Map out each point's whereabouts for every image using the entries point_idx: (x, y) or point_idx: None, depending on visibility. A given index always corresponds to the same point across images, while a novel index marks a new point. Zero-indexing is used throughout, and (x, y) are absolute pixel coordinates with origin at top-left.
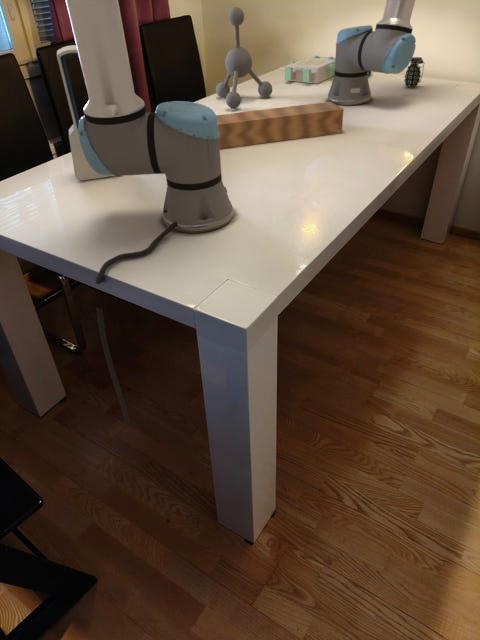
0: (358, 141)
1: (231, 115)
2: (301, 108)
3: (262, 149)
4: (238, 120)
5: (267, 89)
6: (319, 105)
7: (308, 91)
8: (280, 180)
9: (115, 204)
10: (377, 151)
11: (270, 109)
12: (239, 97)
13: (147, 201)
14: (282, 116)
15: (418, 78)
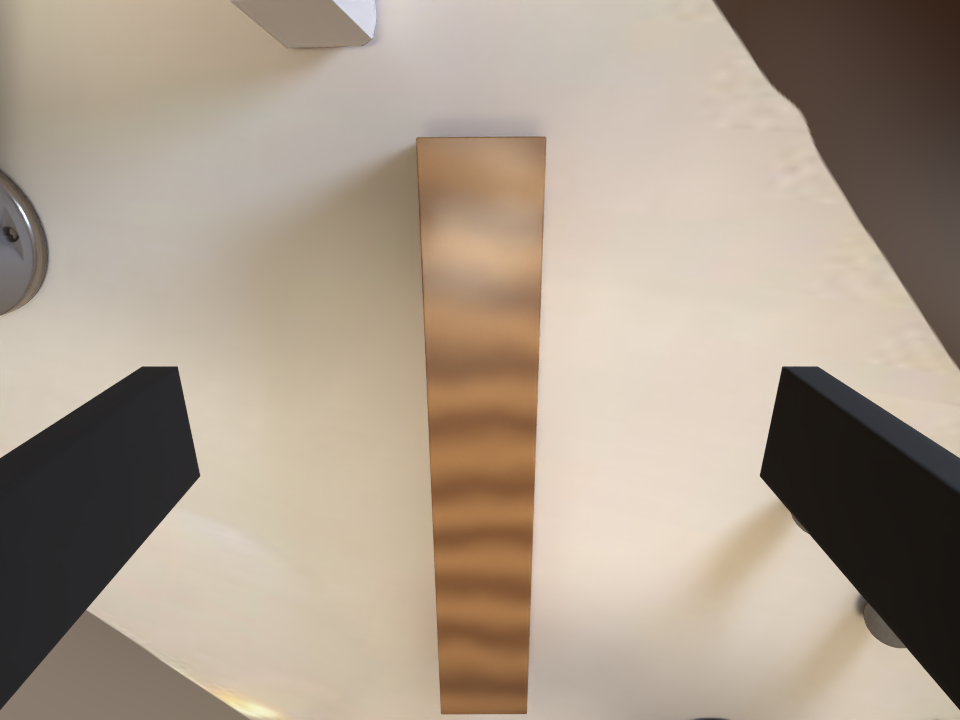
0: (372, 669)
1: (511, 460)
2: (494, 639)
3: (391, 475)
4: (446, 467)
5: (871, 625)
6: (502, 682)
7: (856, 711)
8: None
9: (58, 8)
10: (296, 676)
11: (523, 571)
12: (804, 530)
13: (71, 111)
14: (437, 579)
15: None
